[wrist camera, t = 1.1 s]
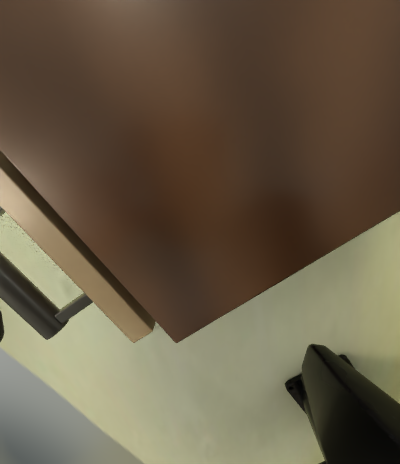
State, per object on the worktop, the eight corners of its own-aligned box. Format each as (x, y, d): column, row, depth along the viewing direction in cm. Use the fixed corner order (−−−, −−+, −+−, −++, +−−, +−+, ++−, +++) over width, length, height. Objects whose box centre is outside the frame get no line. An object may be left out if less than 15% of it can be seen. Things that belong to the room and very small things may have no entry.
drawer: (118, 294, 21) (60, 389, 12) (16, 184, 18) (-145, 210, 10) (314, 161, 17) (416, 168, 9) (221, 0, 15) (241, -206, 6)
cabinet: (190, 250, 20) (176, 344, 10) (85, 117, 18) (-78, 67, 7) (354, 140, 18) (554, 121, 8) (260, -42, 15) (378, -469, 5)
